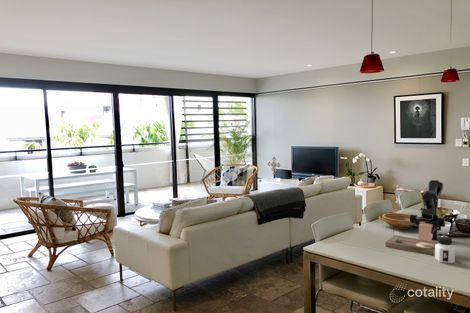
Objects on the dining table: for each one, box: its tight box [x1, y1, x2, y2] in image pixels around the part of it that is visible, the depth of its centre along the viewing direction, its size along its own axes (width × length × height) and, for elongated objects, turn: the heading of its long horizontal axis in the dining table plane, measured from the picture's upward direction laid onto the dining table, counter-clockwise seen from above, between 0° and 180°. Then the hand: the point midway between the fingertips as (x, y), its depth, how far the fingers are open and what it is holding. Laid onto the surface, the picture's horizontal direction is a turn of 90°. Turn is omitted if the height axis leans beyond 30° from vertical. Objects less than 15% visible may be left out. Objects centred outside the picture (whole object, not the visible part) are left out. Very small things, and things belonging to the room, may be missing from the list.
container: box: [434, 235, 456, 264], centre depth 201 cm, size 8×8×13 cm
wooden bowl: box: [378, 212, 422, 230], centre depth 270 cm, size 30×24×8 cm
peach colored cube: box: [418, 222, 433, 241], centre depth 217 cm, size 6×6×8 cm
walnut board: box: [385, 234, 438, 257], centre depth 224 cm, size 18×28×5 cm, turn 50°
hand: (425, 232), depth 215 cm, fingers closed on peach colored cube, 6 cm apart
